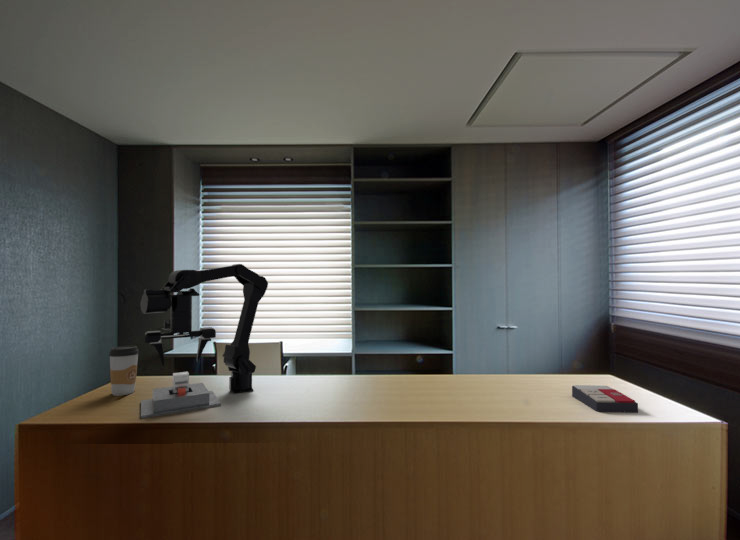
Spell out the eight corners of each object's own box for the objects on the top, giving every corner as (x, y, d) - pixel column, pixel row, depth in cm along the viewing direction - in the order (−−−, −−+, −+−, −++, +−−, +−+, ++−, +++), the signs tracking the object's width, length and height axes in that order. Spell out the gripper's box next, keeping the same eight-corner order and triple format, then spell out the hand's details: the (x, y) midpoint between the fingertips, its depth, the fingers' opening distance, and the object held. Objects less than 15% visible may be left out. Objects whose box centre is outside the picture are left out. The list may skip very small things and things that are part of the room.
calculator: (596, 400, 102) (571, 383, 117) (596, 415, 102) (571, 396, 117) (638, 400, 101) (607, 383, 116) (638, 416, 101) (607, 397, 116)
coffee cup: (123, 397, 118) (124, 349, 119) (101, 396, 120) (102, 349, 121) (144, 390, 126) (145, 345, 127) (123, 389, 128) (124, 345, 129)
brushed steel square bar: (187, 401, 113) (187, 371, 114) (188, 405, 110) (189, 374, 110) (172, 403, 111) (172, 373, 112) (173, 407, 107) (173, 376, 108)
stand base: (211, 393, 123) (212, 375, 123) (220, 406, 109) (221, 386, 109) (140, 403, 112) (141, 384, 112) (140, 418, 99) (141, 397, 99)
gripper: (210, 308, 124) (210, 356, 123) (145, 311, 114) (144, 362, 113) (216, 310, 114) (215, 361, 114) (145, 313, 104) (144, 369, 104)
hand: (180, 363), depth 111 cm, fingers open, 9 cm apart
